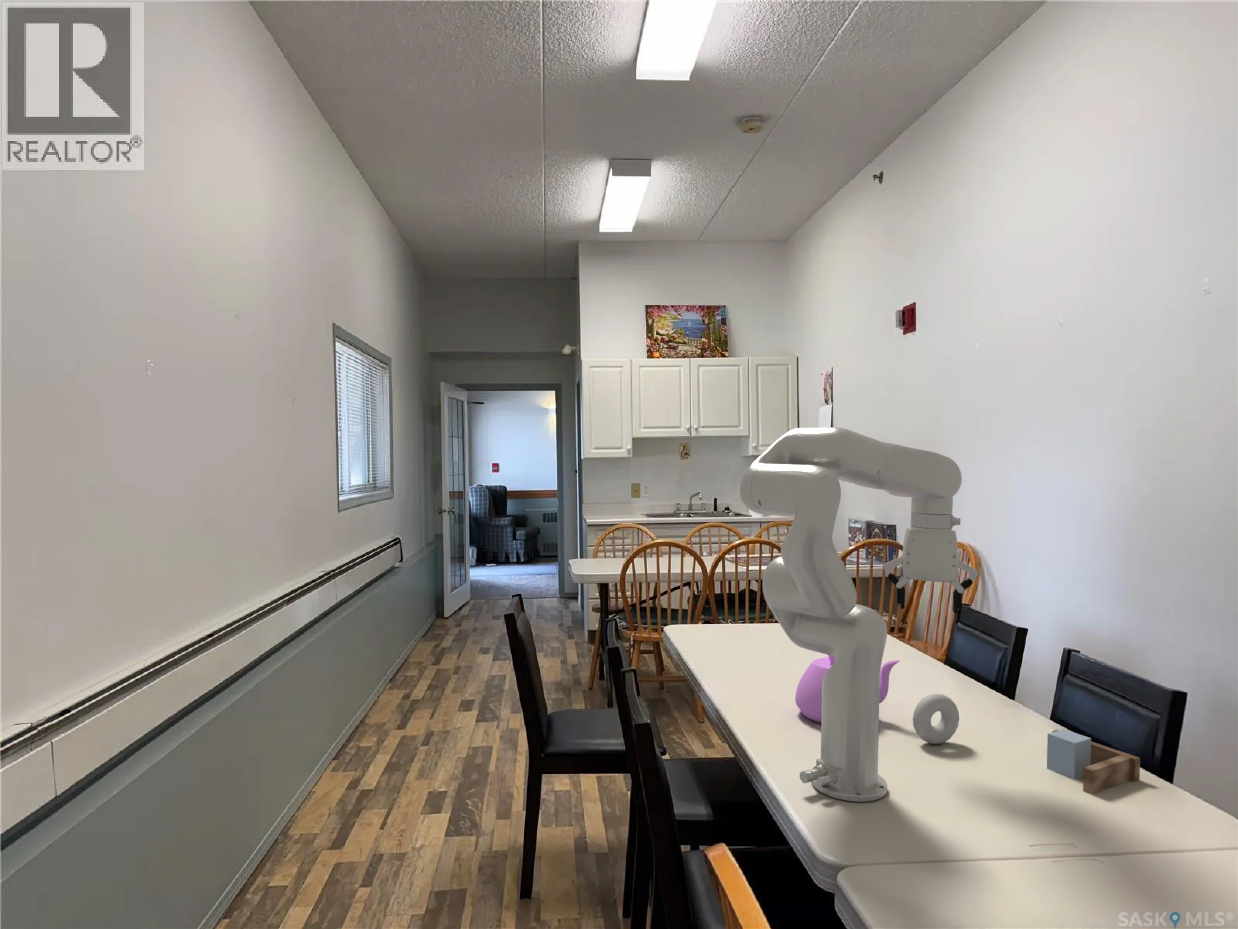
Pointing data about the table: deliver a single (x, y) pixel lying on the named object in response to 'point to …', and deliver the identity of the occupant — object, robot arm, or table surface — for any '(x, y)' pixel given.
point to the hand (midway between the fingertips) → (928, 610)
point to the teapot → (811, 686)
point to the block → (1068, 753)
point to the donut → (925, 713)
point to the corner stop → (1109, 768)
